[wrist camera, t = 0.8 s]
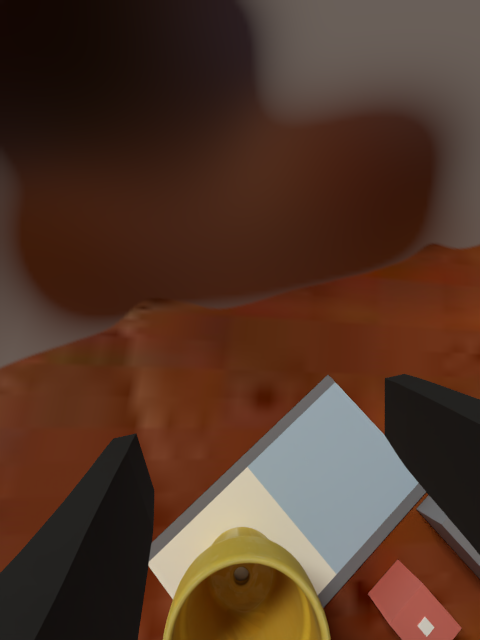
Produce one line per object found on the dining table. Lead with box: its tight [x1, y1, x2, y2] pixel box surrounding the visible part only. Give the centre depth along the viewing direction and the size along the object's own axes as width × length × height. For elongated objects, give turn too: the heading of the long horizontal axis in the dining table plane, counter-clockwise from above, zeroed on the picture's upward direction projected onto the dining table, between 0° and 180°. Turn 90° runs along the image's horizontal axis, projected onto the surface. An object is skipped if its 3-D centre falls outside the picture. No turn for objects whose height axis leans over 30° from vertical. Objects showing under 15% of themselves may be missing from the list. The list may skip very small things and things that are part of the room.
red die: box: [368, 560, 462, 640], centre depth 27 cm, size 4×4×4 cm
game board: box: [148, 375, 426, 608], centre depth 30 cm, size 14×24×1 cm, turn 132°
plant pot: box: [163, 527, 331, 640], centre depth 24 cm, size 10×10×10 cm
